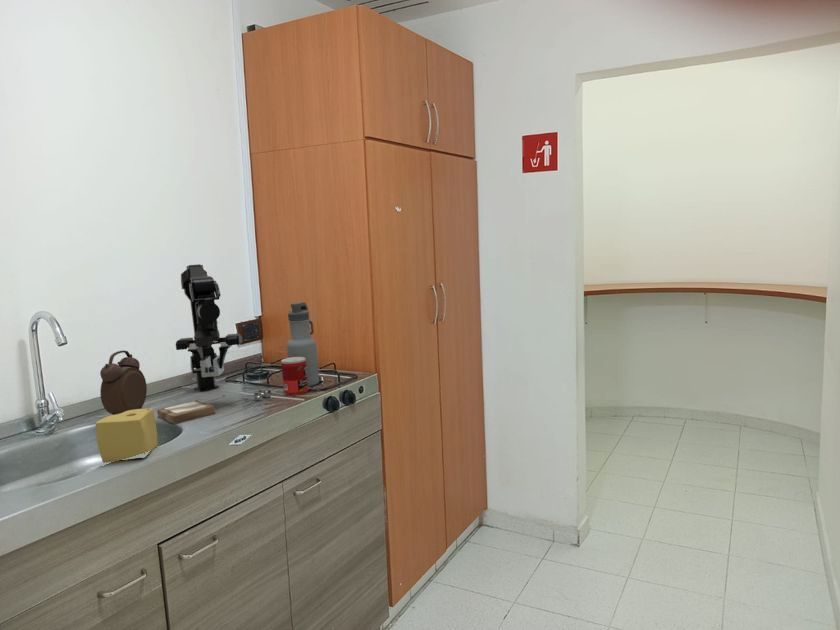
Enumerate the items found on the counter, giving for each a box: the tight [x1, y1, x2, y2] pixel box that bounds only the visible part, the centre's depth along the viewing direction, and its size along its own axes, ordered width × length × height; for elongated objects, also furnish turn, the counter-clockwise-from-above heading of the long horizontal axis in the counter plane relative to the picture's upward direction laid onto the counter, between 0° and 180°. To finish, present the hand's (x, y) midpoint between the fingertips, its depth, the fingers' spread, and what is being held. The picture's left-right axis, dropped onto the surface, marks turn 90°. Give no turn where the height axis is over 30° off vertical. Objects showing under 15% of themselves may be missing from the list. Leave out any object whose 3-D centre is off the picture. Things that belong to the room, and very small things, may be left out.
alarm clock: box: [99, 350, 148, 415], centre depth 183 cm, size 15×7×20 cm, turn 171°
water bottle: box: [286, 301, 320, 388], centre depth 209 cm, size 10×10×28 cm
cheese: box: [95, 407, 158, 463], centre depth 149 cm, size 10×11×10 cm
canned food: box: [280, 357, 309, 396], centre depth 200 cm, size 8×8×11 cm
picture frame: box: [156, 399, 216, 425], centre depth 181 cm, size 12×12×2 cm
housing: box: [200, 354, 225, 377], centre depth 190 cm, size 8×5×5 cm, turn 6°
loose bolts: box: [253, 389, 272, 402], centre depth 197 cm, size 6×8×2 cm
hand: (212, 369), depth 190 cm, fingers closed on housing, 5 cm apart
